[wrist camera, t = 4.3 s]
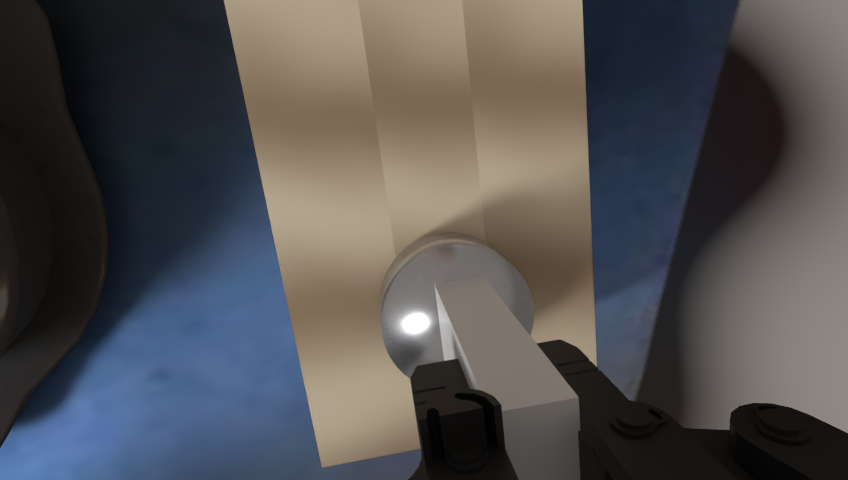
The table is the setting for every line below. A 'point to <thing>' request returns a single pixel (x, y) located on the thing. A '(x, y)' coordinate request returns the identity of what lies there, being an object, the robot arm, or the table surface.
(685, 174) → the table surface
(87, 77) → the table surface
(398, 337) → the steel plunger
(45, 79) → the casserole
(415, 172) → the board
